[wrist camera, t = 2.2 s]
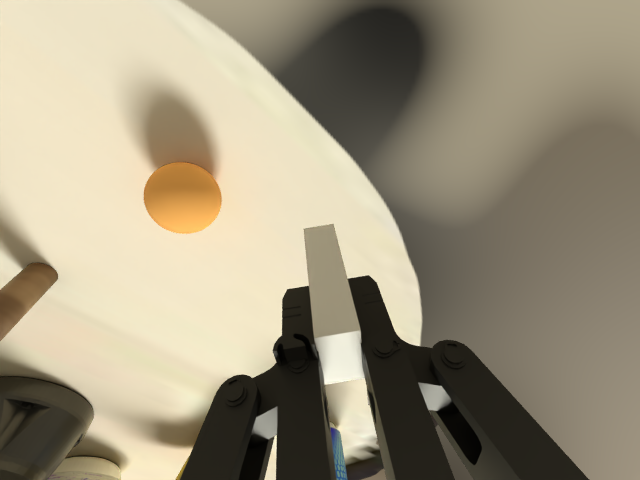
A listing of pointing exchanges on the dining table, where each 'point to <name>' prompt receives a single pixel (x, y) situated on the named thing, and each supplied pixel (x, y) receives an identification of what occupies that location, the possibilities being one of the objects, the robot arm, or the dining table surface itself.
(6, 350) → the dining table surface
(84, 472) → the paper bowls
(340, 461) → the beer can
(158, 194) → the ball
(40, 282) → the post
